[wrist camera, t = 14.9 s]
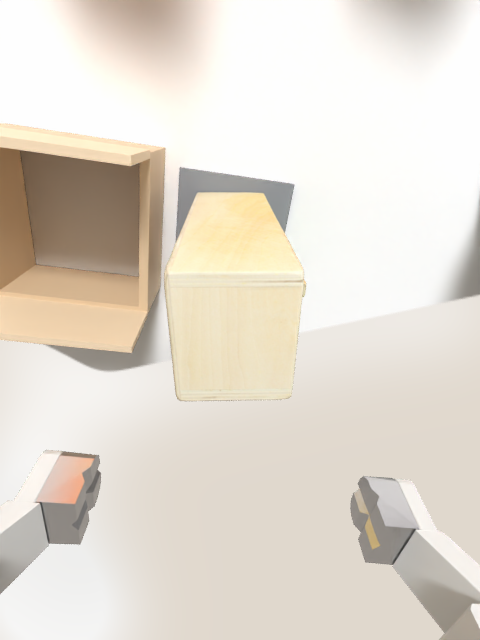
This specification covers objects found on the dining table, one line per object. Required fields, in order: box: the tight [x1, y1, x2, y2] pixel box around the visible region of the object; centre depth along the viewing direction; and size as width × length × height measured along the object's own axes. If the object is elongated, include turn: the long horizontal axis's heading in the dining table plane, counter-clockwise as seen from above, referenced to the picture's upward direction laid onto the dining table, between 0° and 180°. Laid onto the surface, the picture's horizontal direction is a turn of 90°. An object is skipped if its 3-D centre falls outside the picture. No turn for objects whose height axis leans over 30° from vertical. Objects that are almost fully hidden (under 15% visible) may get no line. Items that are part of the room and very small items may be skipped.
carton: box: [0, 124, 165, 353], centre depth 30 cm, size 14×14×13 cm
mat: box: [176, 167, 294, 241], centre depth 37 cm, size 11×11×1 cm
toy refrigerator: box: [164, 192, 306, 401], centre depth 27 cm, size 8×7×21 cm
